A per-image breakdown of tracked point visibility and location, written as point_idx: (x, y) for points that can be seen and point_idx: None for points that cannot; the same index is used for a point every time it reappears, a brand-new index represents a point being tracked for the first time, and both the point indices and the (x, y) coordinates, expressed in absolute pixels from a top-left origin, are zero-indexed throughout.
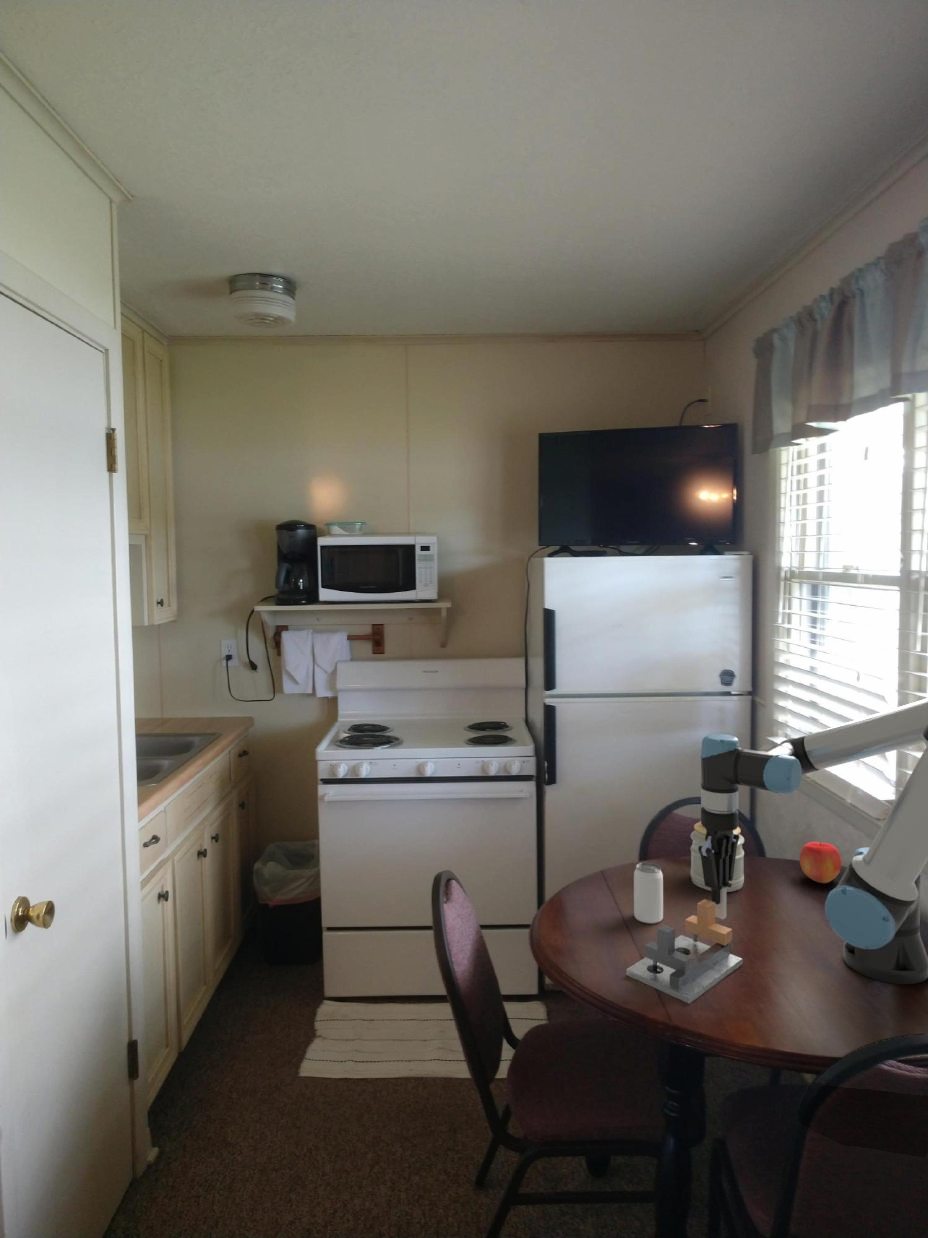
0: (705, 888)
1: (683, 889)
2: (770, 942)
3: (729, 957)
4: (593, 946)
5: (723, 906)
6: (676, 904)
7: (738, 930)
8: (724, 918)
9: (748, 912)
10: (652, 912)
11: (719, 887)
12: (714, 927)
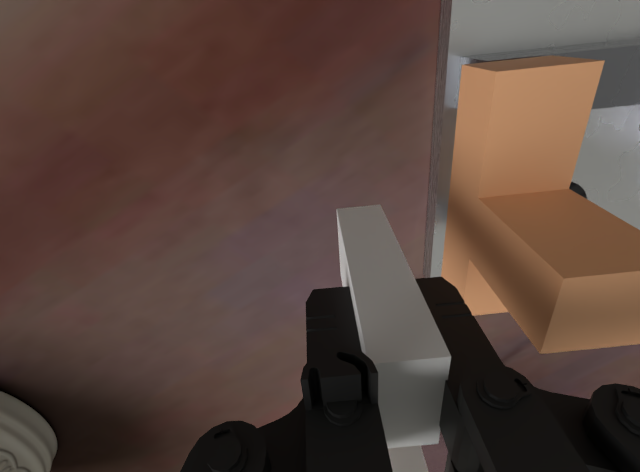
0: (45, 424)
1: (116, 445)
2: (122, 27)
3: (484, 41)
4: (617, 378)
5: (391, 249)
6: (215, 407)
7: (171, 197)
8: (359, 207)
9: (6, 261)
10: None
11: (538, 397)
12: (539, 167)
